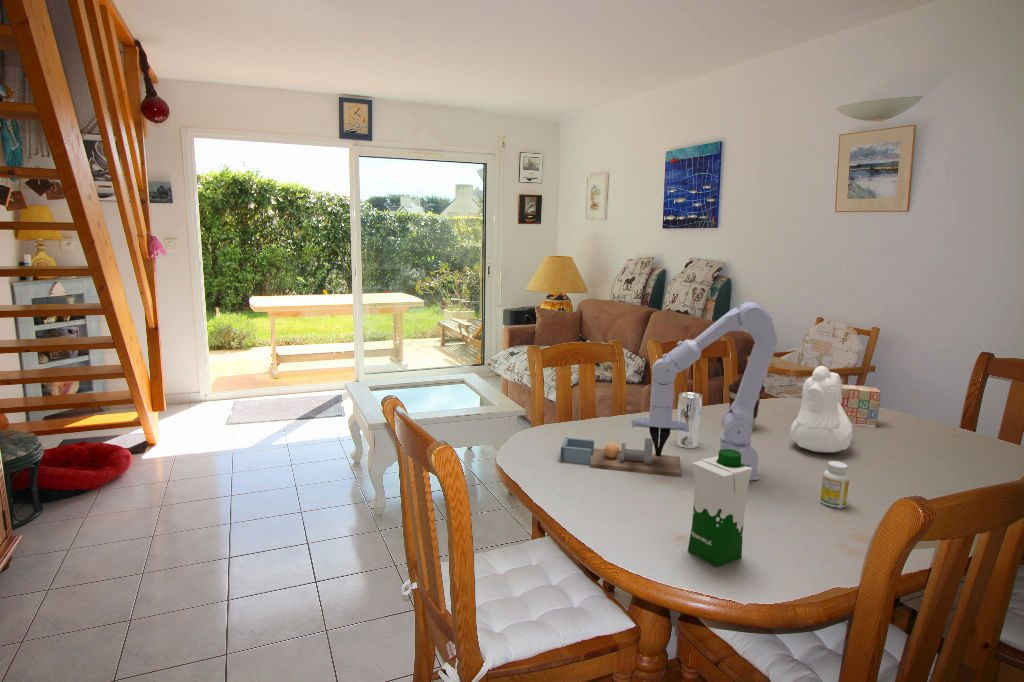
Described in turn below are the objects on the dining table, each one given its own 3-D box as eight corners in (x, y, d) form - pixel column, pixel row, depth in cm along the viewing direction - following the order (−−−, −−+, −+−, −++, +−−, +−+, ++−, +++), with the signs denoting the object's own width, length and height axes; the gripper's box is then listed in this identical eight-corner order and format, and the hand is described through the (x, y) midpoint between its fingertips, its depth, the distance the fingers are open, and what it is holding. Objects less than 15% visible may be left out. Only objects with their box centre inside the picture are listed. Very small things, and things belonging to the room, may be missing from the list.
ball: (621, 443, 163) (606, 440, 163) (617, 458, 162) (602, 454, 162) (620, 446, 166) (605, 442, 167) (617, 460, 165) (602, 456, 166)
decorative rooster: (830, 464, 166) (841, 374, 162) (775, 447, 178) (784, 363, 174) (872, 446, 181) (883, 364, 176) (819, 432, 193) (828, 354, 189)
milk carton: (748, 558, 116) (758, 457, 113) (716, 571, 112) (725, 466, 108) (711, 538, 124) (719, 443, 120) (679, 550, 119) (687, 451, 116)
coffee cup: (718, 425, 199) (722, 379, 196) (741, 421, 203) (745, 377, 200) (741, 434, 190) (746, 387, 187) (765, 430, 194) (770, 384, 191)
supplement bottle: (828, 509, 138) (833, 468, 137) (815, 499, 144) (819, 459, 142) (851, 508, 139) (856, 468, 137) (836, 498, 144) (841, 459, 143)
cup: (593, 453, 170) (594, 440, 169) (590, 464, 162) (591, 450, 161) (564, 451, 172) (565, 437, 171) (560, 461, 164) (560, 447, 163)
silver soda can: (697, 441, 182) (700, 392, 180) (701, 449, 175) (705, 398, 173) (673, 440, 183) (676, 391, 180) (677, 448, 176) (680, 397, 173)
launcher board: (679, 460, 167) (679, 456, 167) (681, 476, 155) (681, 472, 155) (594, 451, 172) (594, 448, 172) (589, 467, 160) (589, 463, 160)
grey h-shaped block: (651, 456, 165) (652, 438, 164) (651, 464, 160) (652, 446, 159) (621, 453, 167) (622, 435, 166) (620, 461, 161) (621, 443, 160)
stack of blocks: (804, 421, 206) (808, 385, 203) (801, 415, 211) (805, 380, 209) (876, 428, 199) (881, 391, 197) (872, 422, 205) (876, 386, 203)
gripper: (689, 403, 162) (685, 452, 164) (633, 398, 165) (630, 447, 167) (691, 410, 155) (687, 462, 157) (632, 405, 158) (629, 456, 160)
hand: (658, 455), depth 162 cm, fingers closed
